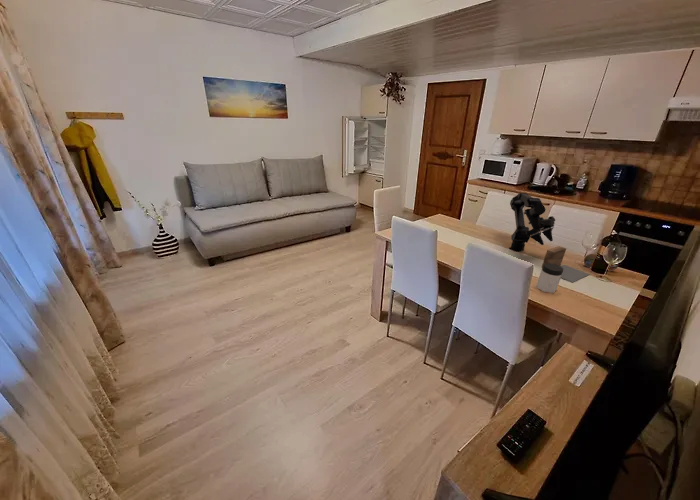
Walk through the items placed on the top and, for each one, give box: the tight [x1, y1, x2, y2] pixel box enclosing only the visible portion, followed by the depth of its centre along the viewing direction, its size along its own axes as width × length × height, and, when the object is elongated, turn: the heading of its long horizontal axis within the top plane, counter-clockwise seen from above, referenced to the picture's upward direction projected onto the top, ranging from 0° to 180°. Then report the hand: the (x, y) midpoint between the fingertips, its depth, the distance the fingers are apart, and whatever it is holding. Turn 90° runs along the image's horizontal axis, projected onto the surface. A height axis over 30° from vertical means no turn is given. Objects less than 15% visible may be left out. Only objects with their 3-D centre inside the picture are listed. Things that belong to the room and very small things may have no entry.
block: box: [541, 245, 567, 269], centre depth 165 cm, size 4×12×11 cm, turn 120°
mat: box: [560, 264, 591, 284], centre depth 160 cm, size 13×18×1 cm
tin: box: [583, 253, 620, 272], centre depth 165 cm, size 15×3×8 cm, turn 62°
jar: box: [535, 263, 563, 294], centre depth 143 cm, size 9×8×12 cm
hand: (547, 242), depth 167 cm, fingers open, 9 cm apart
